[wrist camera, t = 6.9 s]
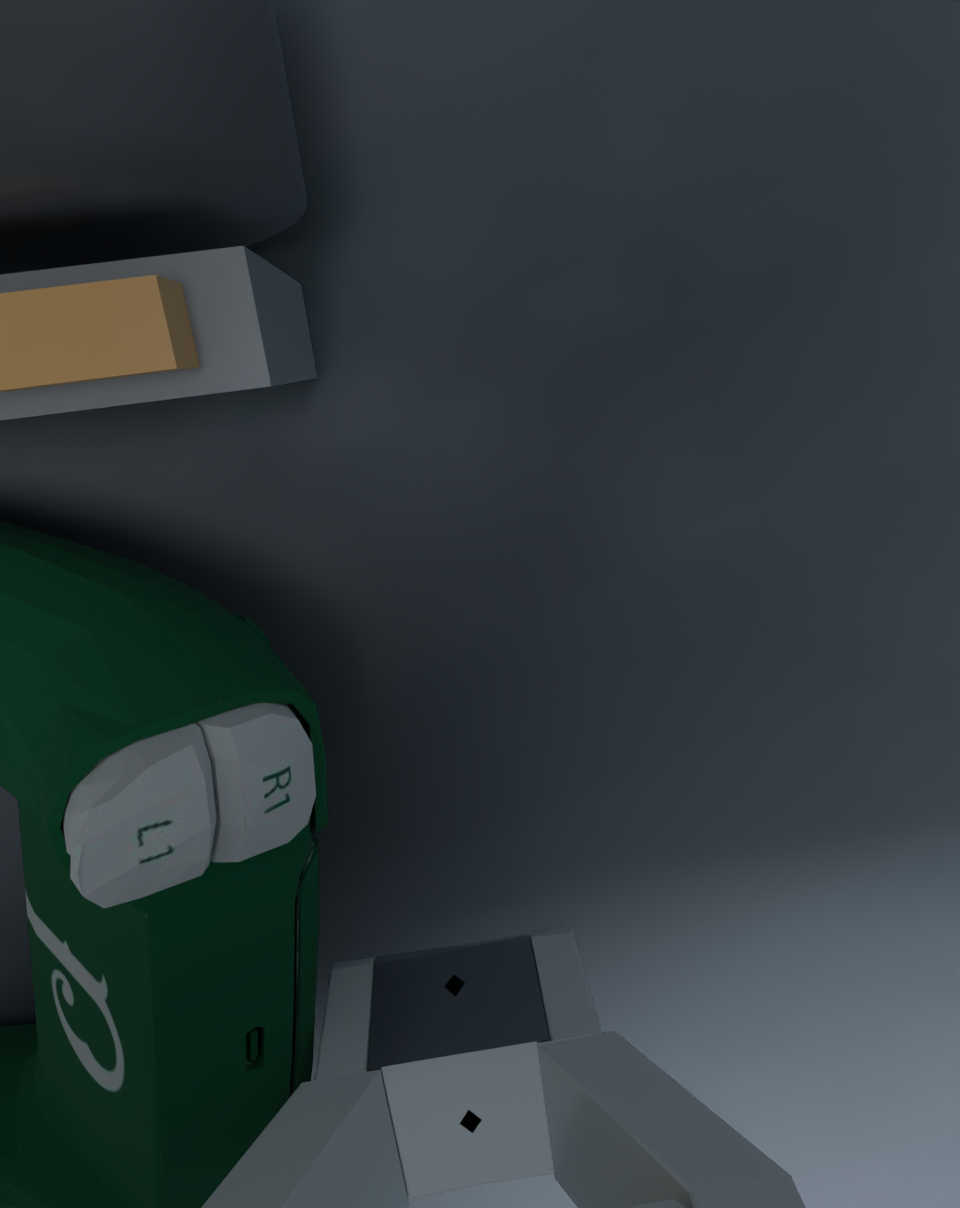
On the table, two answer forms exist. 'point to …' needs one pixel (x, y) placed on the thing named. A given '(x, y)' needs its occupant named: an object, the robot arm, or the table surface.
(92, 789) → the gaming controller
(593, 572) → the table surface
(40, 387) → the chassis
